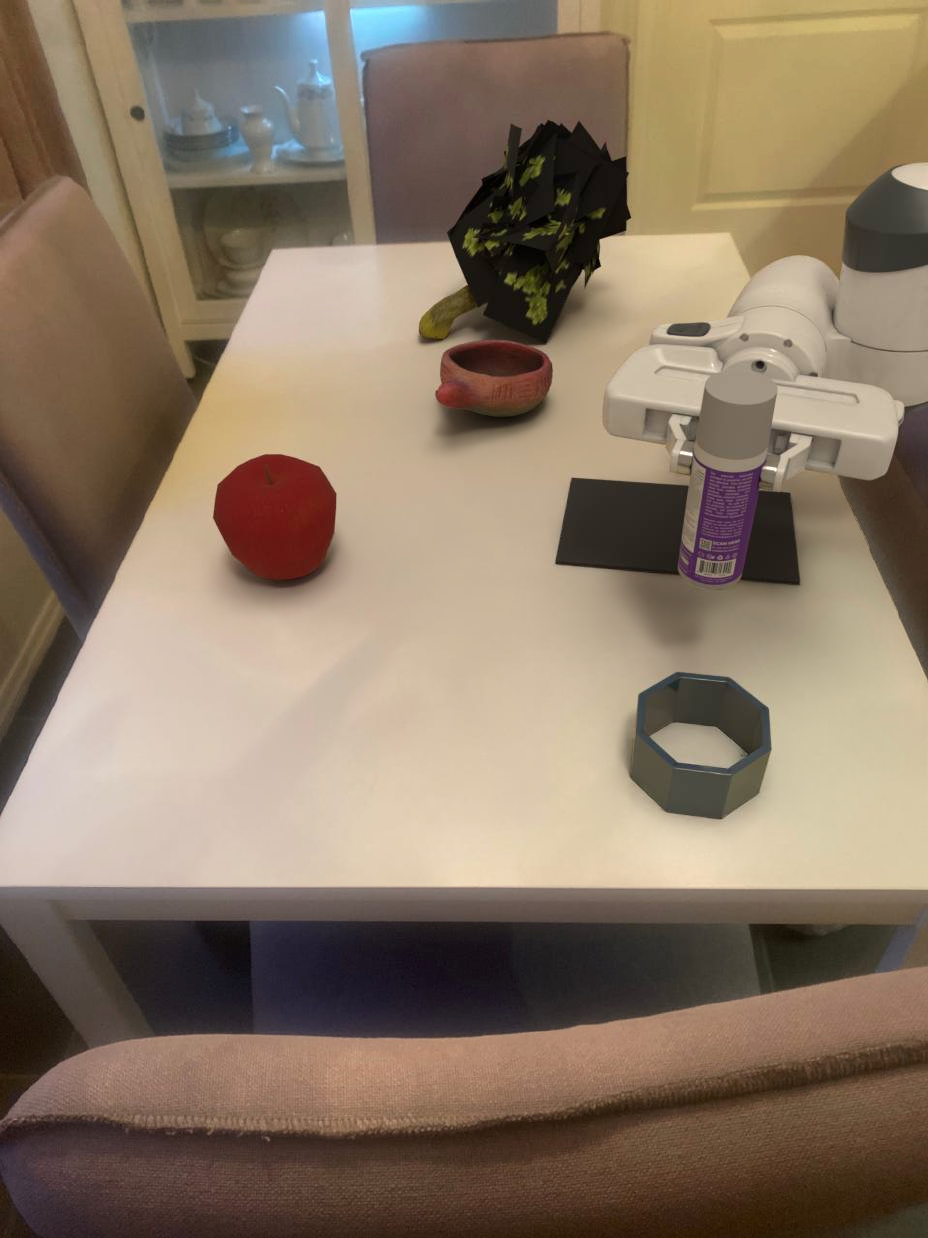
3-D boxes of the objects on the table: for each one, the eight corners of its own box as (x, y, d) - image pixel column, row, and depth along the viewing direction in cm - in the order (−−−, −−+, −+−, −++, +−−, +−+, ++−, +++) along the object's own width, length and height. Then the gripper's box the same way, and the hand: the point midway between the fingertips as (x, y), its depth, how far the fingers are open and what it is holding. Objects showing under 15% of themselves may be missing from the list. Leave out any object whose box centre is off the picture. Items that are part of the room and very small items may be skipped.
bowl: (448, 382, 113) (444, 320, 107) (552, 382, 112) (554, 319, 106) (434, 453, 101) (429, 388, 96) (551, 454, 100) (552, 388, 94)
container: (754, 567, 68) (794, 383, 57) (719, 599, 65) (754, 413, 55) (700, 541, 70) (728, 361, 60) (664, 572, 68) (688, 389, 58)
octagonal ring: (755, 725, 70) (767, 680, 67) (760, 824, 64) (773, 780, 60) (635, 711, 72) (640, 667, 69) (627, 807, 65) (633, 763, 62)
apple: (225, 610, 83) (194, 505, 75) (237, 538, 91) (210, 437, 83) (346, 599, 84) (327, 493, 76) (347, 529, 91) (331, 427, 84)
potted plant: (459, 383, 115) (587, 153, 98) (371, 280, 125) (473, 53, 107) (566, 391, 130) (693, 193, 113) (480, 299, 140) (585, 103, 122)
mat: (789, 495, 92) (790, 492, 92) (799, 585, 82) (800, 581, 82) (571, 480, 96) (571, 477, 96) (555, 564, 86) (555, 560, 86)
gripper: (895, 436, 69) (877, 542, 60) (630, 393, 75) (578, 484, 66) (919, 358, 65) (904, 460, 55) (636, 320, 71) (581, 406, 62)
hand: (724, 473), depth 61 cm, fingers closed on container, 4 cm apart
